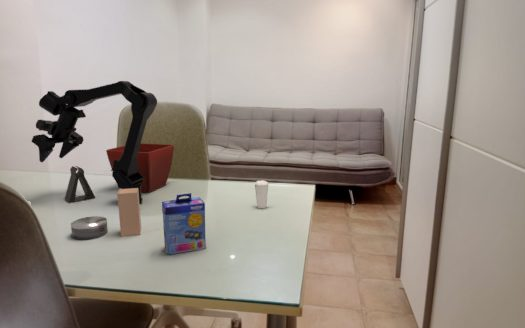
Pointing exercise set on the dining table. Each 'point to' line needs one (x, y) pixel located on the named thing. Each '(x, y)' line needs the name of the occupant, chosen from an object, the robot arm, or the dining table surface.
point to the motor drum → (89, 228)
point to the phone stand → (73, 186)
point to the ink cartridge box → (184, 224)
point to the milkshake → (261, 193)
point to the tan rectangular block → (129, 212)
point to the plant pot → (149, 163)
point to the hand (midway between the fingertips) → (51, 159)
